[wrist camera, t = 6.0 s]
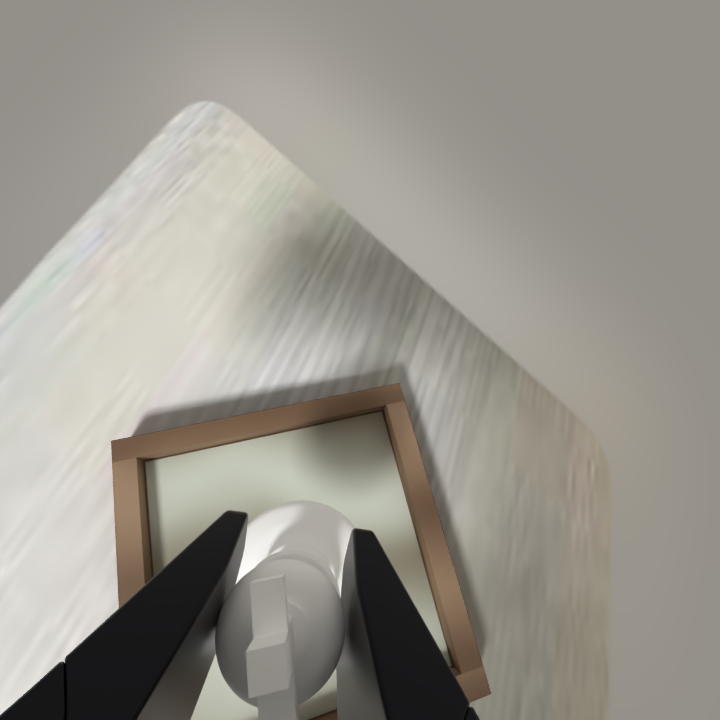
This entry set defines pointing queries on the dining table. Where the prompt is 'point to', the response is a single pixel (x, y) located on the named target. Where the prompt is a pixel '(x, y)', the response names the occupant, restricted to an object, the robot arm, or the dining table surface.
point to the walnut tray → (292, 483)
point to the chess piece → (285, 608)
